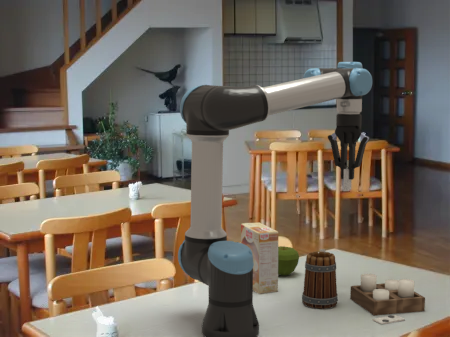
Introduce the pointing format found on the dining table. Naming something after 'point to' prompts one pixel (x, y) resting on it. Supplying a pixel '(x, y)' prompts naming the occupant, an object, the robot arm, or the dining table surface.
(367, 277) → the button
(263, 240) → the coffeecake box
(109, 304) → the dining table surface
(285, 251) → the apple
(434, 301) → the dining table surface
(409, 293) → the button
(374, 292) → the button
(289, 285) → the dining table surface
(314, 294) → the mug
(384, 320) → the card
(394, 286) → the button
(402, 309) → the wooden compartment tray
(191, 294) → the dining table surface
